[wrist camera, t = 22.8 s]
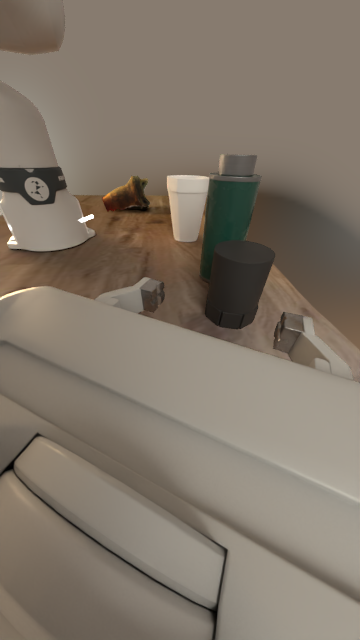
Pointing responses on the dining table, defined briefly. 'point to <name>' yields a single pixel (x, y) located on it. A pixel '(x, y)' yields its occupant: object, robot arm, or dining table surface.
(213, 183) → the thermos
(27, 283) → the dining table surface
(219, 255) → the lid
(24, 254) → the dining table surface
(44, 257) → the dining table surface
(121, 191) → the pot
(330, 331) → the dining table surface
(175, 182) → the foam cup
